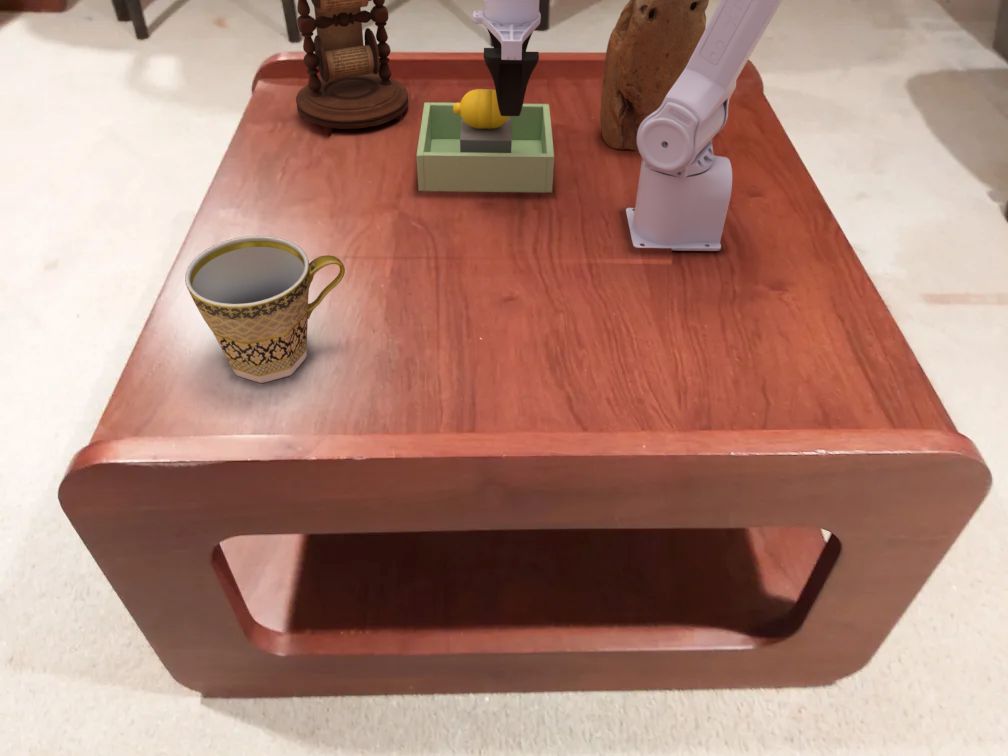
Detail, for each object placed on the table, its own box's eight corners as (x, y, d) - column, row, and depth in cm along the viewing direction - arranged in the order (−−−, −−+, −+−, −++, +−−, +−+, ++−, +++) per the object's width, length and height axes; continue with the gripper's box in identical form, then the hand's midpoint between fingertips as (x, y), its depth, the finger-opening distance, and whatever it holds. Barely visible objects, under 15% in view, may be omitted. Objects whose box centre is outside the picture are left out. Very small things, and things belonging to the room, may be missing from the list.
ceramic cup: (222, 409, 70) (194, 318, 63) (204, 339, 77) (176, 249, 70) (369, 369, 74) (357, 279, 67) (340, 306, 80) (326, 218, 74)
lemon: (516, 123, 99) (517, 85, 97) (517, 133, 96) (518, 94, 93) (453, 122, 99) (453, 84, 97) (452, 132, 95) (451, 93, 93)
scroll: (389, 83, 118) (377, -70, 104) (424, 127, 108) (415, -35, 95) (287, 100, 114) (260, -58, 100) (314, 148, 104) (288, -20, 90)
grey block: (510, 150, 103) (511, 117, 100) (510, 175, 98) (511, 140, 95) (462, 150, 103) (461, 116, 100) (460, 174, 98) (460, 139, 95)
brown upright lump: (669, 125, 110) (695, -35, 96) (691, 151, 105) (722, -14, 91) (592, 132, 108) (607, -30, 94) (610, 159, 103) (629, -8, 89)
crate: (547, 141, 106) (549, 103, 102) (551, 196, 96) (554, 156, 93) (426, 140, 106) (424, 102, 102) (418, 195, 96) (416, 155, 92)
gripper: (474, -54, 87) (475, 72, 97) (470, -8, 77) (472, 128, 86) (540, -53, 87) (535, 72, 97) (545, -7, 77) (539, 129, 86)
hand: (509, 99), depth 91 cm, fingers open, 7 cm apart
